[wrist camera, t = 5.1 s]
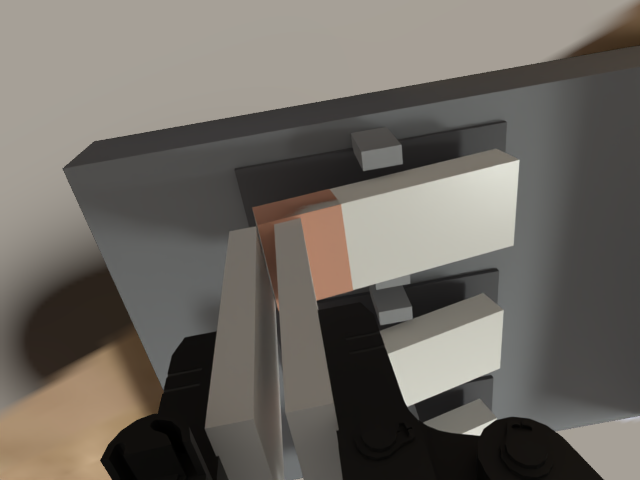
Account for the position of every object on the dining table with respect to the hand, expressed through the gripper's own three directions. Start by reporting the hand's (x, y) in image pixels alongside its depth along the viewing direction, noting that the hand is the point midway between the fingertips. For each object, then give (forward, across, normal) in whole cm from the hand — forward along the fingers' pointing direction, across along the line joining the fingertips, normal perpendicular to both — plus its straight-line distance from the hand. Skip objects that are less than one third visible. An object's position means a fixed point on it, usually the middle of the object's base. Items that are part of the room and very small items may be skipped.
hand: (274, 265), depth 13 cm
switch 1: (+1, -4, 0) cm, 4 cm away
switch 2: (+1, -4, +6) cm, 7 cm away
